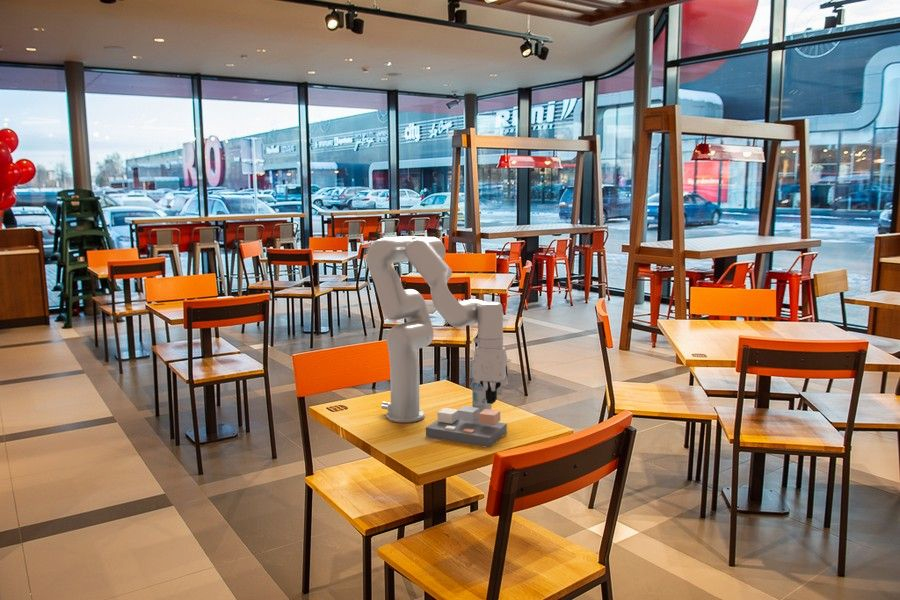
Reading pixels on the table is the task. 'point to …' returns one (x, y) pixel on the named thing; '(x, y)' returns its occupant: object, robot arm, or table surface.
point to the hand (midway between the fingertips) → (491, 402)
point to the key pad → (467, 432)
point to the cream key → (447, 415)
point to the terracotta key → (489, 416)
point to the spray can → (479, 395)
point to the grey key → (468, 413)
